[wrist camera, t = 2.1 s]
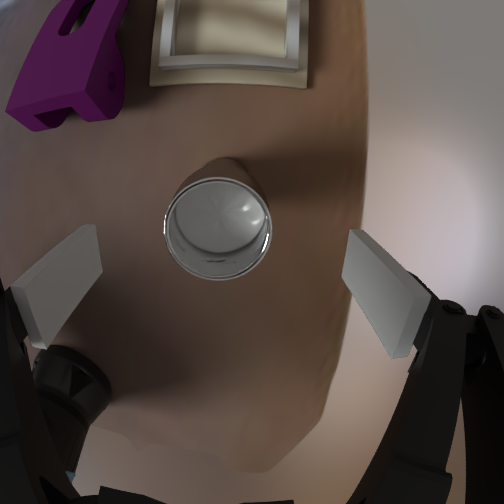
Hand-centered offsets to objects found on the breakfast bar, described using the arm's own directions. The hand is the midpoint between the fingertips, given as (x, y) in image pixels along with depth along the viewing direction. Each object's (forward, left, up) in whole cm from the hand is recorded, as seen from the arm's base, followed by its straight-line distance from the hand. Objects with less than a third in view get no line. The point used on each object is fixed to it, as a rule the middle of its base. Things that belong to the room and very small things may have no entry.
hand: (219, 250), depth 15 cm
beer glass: (0, 0, -18) cm, 18 cm away
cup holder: (+19, 0, -18) cm, 26 cm away
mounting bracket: (+17, +16, -19) cm, 30 cm away
